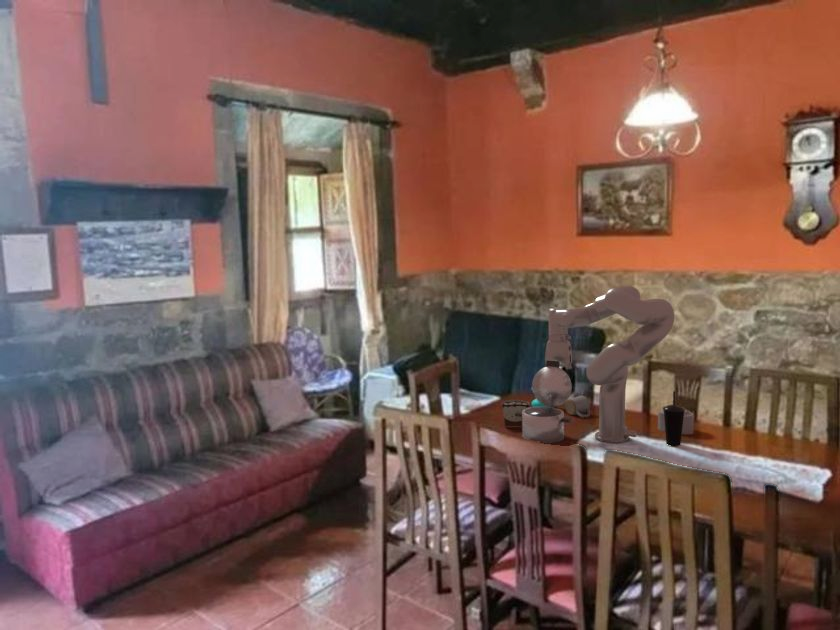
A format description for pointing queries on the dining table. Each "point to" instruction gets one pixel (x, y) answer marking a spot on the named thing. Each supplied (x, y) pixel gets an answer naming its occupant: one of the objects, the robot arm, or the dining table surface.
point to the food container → (513, 412)
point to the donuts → (537, 403)
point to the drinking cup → (673, 423)
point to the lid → (551, 385)
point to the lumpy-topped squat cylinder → (687, 422)
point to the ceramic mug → (578, 406)
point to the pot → (543, 424)
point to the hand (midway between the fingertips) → (558, 382)
